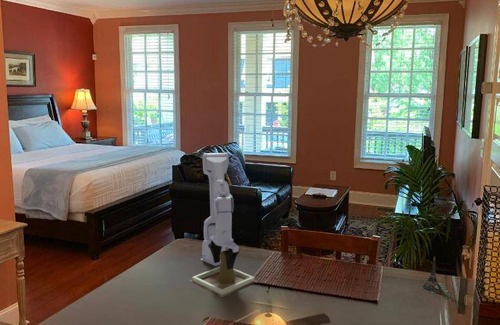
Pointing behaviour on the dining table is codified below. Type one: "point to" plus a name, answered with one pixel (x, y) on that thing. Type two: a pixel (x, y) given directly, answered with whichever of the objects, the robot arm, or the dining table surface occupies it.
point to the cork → (225, 271)
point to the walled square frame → (223, 291)
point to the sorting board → (214, 281)
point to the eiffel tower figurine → (435, 284)
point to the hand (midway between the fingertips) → (223, 265)
